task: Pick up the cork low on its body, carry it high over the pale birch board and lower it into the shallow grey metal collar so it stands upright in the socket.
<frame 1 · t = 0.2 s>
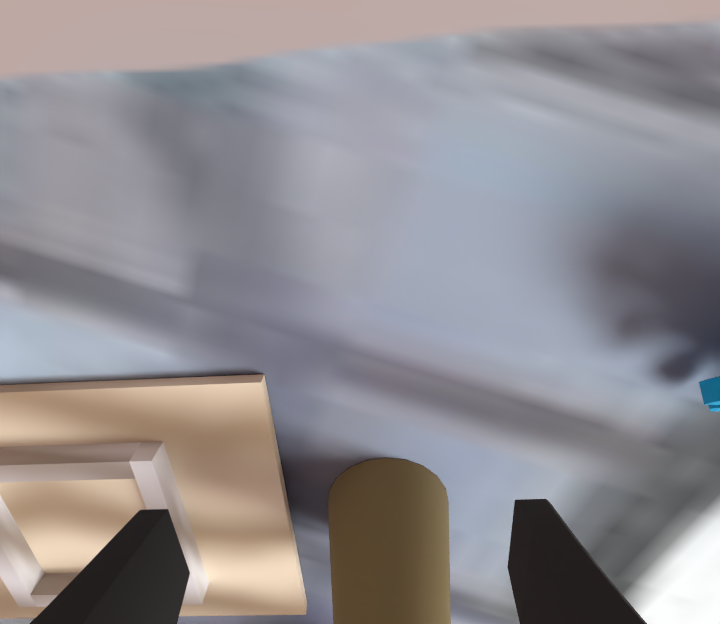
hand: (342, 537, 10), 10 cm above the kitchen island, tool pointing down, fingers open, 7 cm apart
socket board: (98, 511, 24), on the kitchen island
cork: (387, 500, 23), on the kitchen island
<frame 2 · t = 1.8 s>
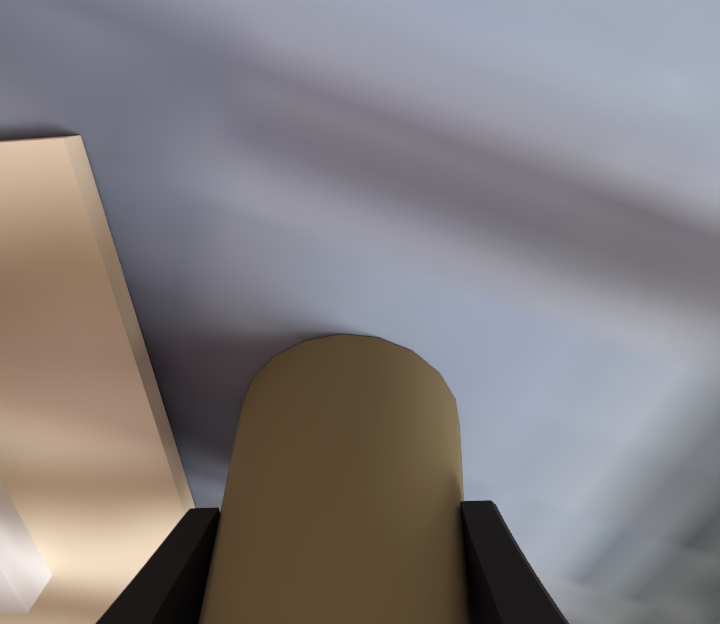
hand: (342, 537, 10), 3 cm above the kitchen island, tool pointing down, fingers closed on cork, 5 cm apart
cork: (350, 425, 13), on the kitchen island, touching gripper
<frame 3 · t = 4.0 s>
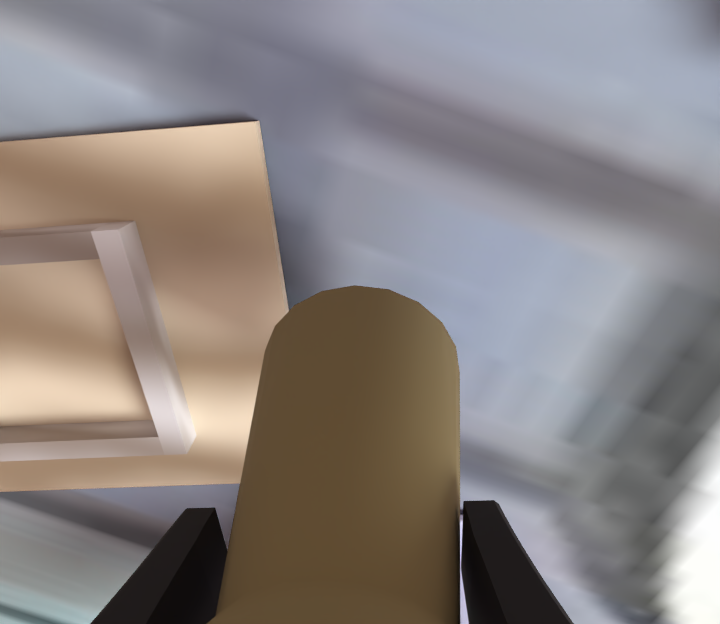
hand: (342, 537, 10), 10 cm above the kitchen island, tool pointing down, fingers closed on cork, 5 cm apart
socket board: (61, 339, 20), on the kitchen island
cork: (361, 370, 15), point 5 cm above the kitchen island, touching gripper
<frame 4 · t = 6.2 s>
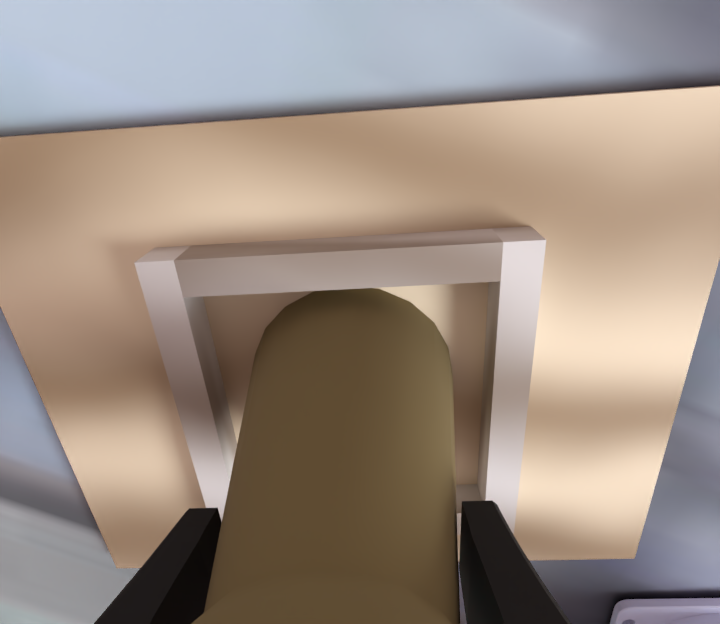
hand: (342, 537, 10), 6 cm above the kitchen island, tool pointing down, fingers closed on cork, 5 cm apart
socket board: (353, 381, 15), on the kitchen island
cork: (353, 373, 14), resting on socket board, touching gripper
when the fingers open (6 cm above the kitchen island, at t = 6.8 s): cork stays where it is, resting on socket board.
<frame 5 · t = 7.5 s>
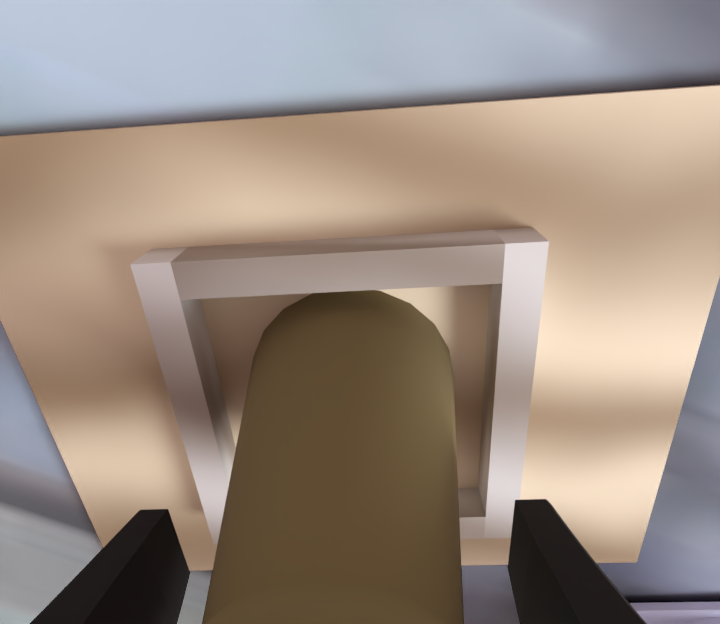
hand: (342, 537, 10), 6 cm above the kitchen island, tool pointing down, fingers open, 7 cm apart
socket board: (353, 384, 15), on the kitchen island
cork: (352, 375, 14), resting on socket board
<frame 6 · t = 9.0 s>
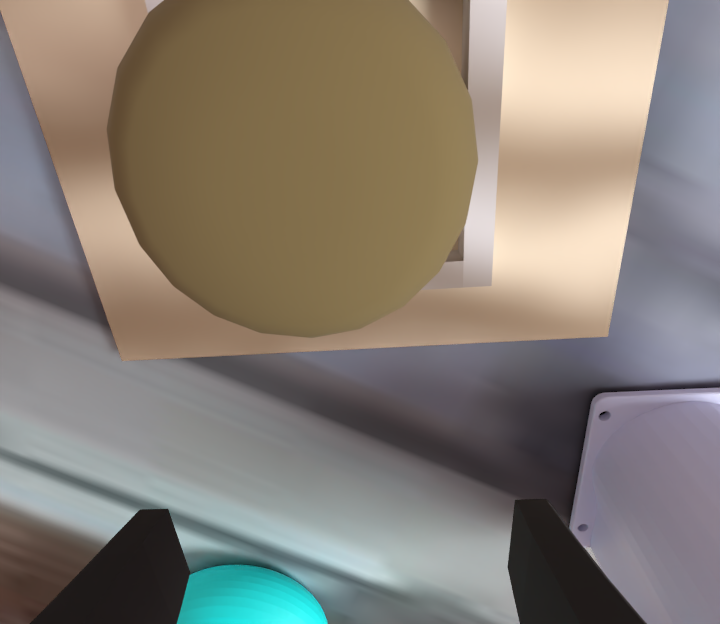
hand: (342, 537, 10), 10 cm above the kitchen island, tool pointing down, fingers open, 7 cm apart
socket board: (341, 141, 16), on the kitchen island
donuts: (248, 605, 28), on the kitchen island
cork: (340, 123, 15), resting on socket board
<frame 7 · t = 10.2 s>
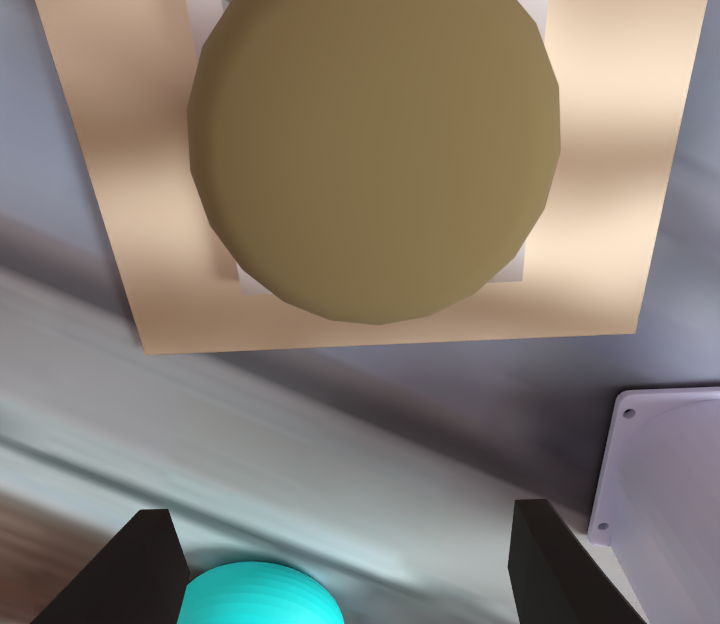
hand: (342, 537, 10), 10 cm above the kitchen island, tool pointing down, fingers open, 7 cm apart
socket board: (372, 134, 16), on the kitchen island
donuts: (263, 602, 28), on the kitchen island
cork: (373, 116, 15), resting on socket board
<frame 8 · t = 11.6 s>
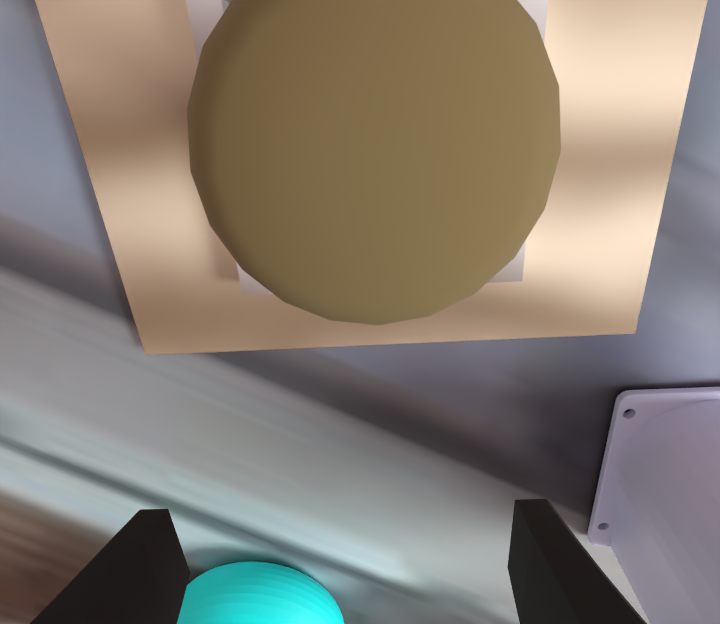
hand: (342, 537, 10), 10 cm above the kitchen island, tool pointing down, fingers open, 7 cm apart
socket board: (372, 134, 16), on the kitchen island
donuts: (263, 602, 28), on the kitchen island
cork: (373, 116, 15), resting on socket board
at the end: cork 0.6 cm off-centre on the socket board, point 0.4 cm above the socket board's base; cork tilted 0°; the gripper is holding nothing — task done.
